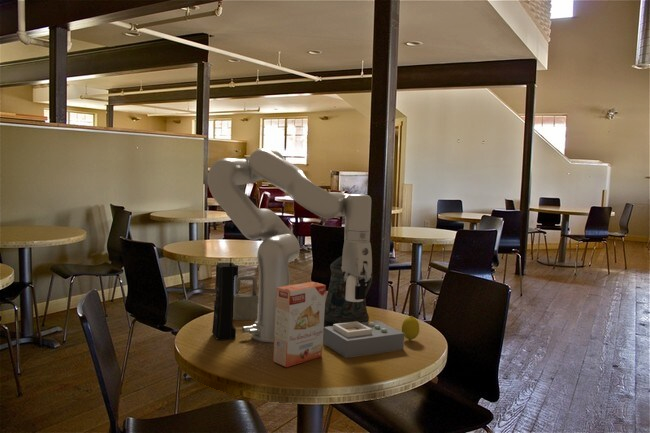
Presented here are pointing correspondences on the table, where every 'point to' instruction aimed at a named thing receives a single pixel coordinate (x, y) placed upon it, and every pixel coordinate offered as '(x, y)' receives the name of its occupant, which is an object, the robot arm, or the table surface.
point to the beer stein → (343, 300)
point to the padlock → (245, 301)
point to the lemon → (410, 328)
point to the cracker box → (299, 323)
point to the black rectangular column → (224, 301)
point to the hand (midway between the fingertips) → (354, 296)
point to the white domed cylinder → (351, 288)
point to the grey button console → (362, 338)
